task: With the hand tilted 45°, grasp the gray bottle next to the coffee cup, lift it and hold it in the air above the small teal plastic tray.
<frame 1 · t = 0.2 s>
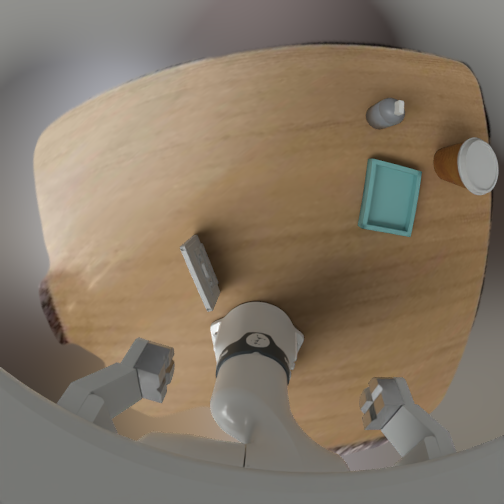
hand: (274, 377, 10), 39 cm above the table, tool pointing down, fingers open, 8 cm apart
tray: (388, 197, 45), on the table
cassette: (207, 264, 51), on the table
disposable coffee cup: (444, 164, 42), on the table
gray bottle: (377, 117, 41), on the table
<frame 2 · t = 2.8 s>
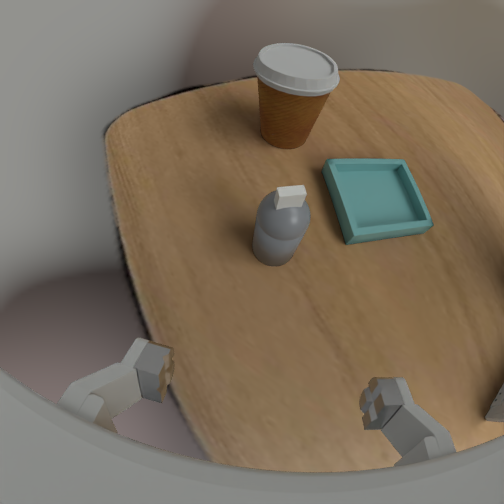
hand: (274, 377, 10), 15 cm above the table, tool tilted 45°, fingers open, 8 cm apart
tray: (375, 201, 32), on the table
cassette: (502, 388, 23), on the table
disposable coffee cup: (283, 133, 35), on the table
gray bottle: (273, 246, 29), on the table
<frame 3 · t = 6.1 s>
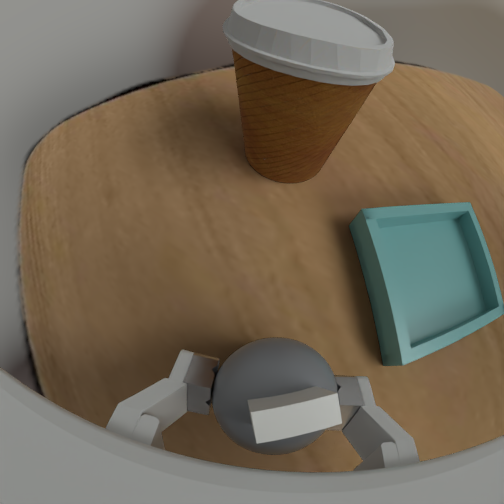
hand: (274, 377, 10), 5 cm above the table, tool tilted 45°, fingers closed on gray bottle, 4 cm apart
tray: (430, 277, 18), on the table
disposable coffee cup: (284, 153, 21), on the table
gray bottle: (259, 381, 15), on the table, touching gripper
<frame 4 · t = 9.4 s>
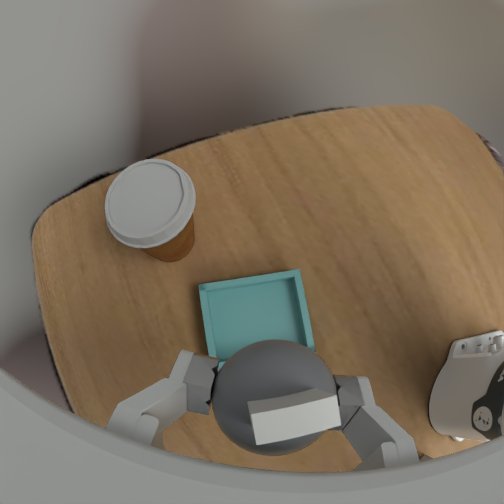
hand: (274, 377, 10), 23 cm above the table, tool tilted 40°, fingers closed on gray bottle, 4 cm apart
tray: (255, 320, 33), on the table
disposable coffee cup: (171, 239, 36), on the table
gray bottle: (258, 382, 15), point 18 cm above the table, touching gripper
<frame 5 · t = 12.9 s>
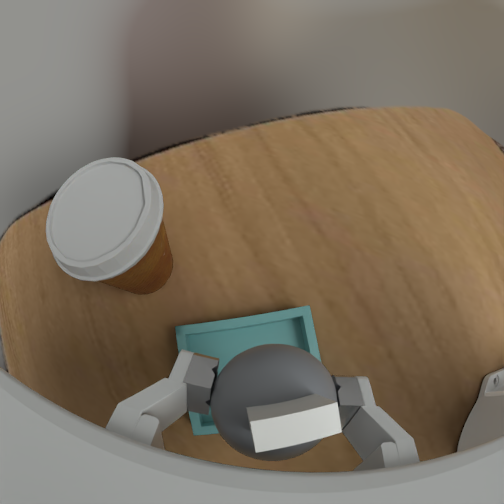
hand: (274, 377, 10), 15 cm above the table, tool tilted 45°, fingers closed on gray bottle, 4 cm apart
tray: (251, 371, 24), on the table
disposable coffee cup: (144, 265, 28), on the table
gray bottle: (258, 385, 15), point 10 cm above the table, touching gripper
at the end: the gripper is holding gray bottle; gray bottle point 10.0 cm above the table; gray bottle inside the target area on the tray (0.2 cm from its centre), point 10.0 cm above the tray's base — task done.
